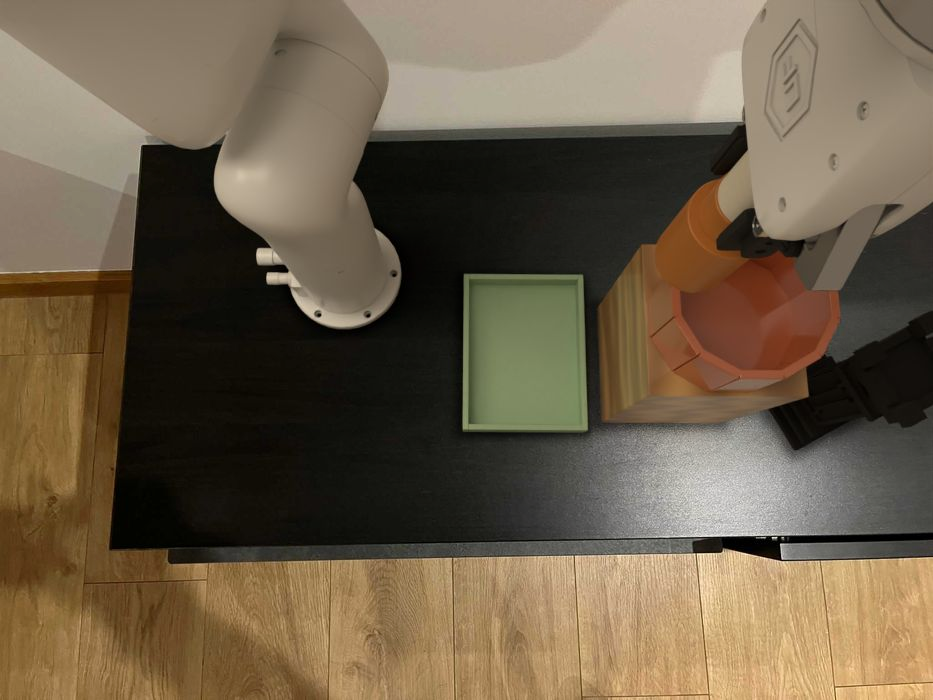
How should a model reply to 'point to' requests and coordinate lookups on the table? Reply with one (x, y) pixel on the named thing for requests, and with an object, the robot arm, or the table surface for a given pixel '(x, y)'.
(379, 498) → the table surface
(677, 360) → the pot
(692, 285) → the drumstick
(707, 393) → the stand
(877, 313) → the table surface
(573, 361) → the tray
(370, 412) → the table surface
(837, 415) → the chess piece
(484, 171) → the table surface
